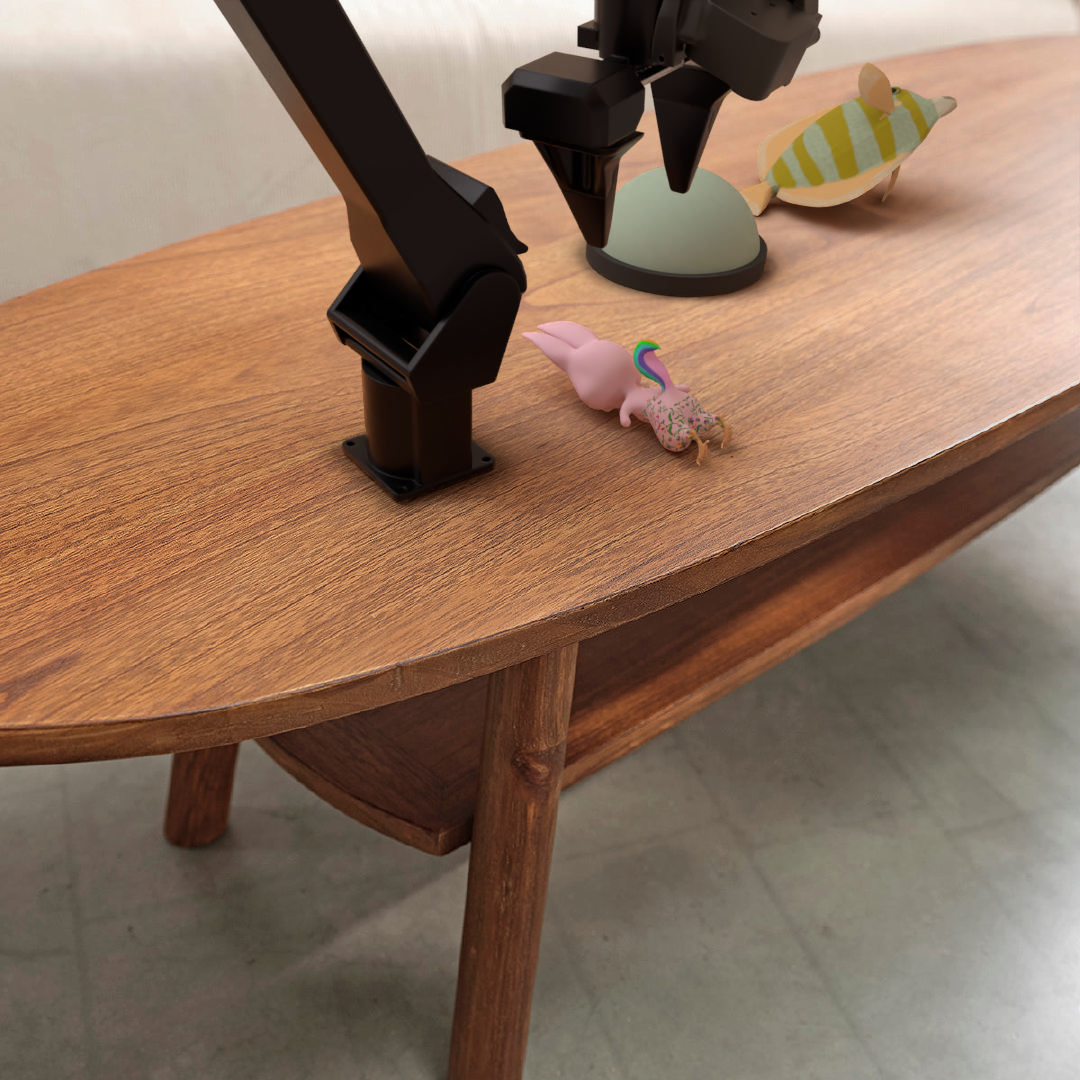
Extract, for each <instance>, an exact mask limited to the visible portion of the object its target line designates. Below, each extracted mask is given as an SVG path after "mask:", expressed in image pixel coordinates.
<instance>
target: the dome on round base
mask: <svg viewBox="0 0 1080 1080" xmlns="http://www.w3.org/2000/svg"><path fill="white" fill-rule="evenodd" d="M585 244H586V245H585V258H586V260H587V262H588V265H589V266H590V267H591V268H592V269H593V270H594V271H596V272H597V273H598V274H599V275H601V276H603V278H605V279H608V280H610V281H612V282H614V283H617V284H619V285H621V286H625V287H628V288H630V289H634V290H638V291H642V292H646V293H652V294H657V295H664V296H675V297H709V296H718V295H723V294H730V293H733V292H738V291H740V290H743V289H745V288H747V287H749V286H751V285H754V283H756V282H758V280H760V278H761V277H762V276H763V274H764V272H765V267H766V261H767V255H768V245H767V242H766V240H765V239H764V238H763V237H762V236H761V235H760V234H759V229H758V224H757V221H756V219H755V215H753V213H752V211H751V209H750V207H749V206H748V204H747V202H746V201H745V199H744V198H743V196H742V195H741V194H740V193H739V190H738V189H737V188H736V187H735V186H734V185H733V184H731V183H730V182H729V181H727V180H726V179H725V178H724V177H722V176H720V175H719V174H716V173H714V172H713V171H711V170H708V169H705V168H702V167H699V166H698V168H697V170H696V173H695V176H694V178H693V181H692V184H691V187H690V189H689V191H688V192H686V193H685V194H681V193H677V192H673V191H671V189H670V187H669V183H668V179H667V174H666V170H665V166H664V165H663V166H659V167H656V168H653V169H649V170H647V171H644V172H643V173H640V174H638V175H636V176H635V177H633V178H632V179H630V180H628V181H627V182H626V183H624V185H623V186H622V187H620V188H619V189H617V190H616V193H615V201H614V209H613V216H612V223H611V229H610V233H609V238H608V243H607V246H606V247H604V248H603V249H599V248H596V247H592V246H589V245H588V244H587V243H586V242H585Z"/></svg>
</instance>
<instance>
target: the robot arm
mask: <svg viewBox="0 0 1080 1080" xmlns="http://www.w3.org/2000/svg"><path fill="white" fill-rule="evenodd" d="M212 1H213V3H214V4H215V5H216V7H217V8H218V10H219V11H220V13H221V15H222V16H223V17H224V19H225V20H226V22H227V24H228V25H229V27H230V28H231V30H232V31H233V33H234V34H235V36H236V37H237V39H238V41H240V43H241V45H242V46H243V47H244V50H245V51H246V53H247V54H248V55H249V57H250V58H251V60H252V61H253V63H254V64H255V66H256V67H257V69H258V71H259V72H260V74H261V75H262V77H263V79H265V81H266V82H267V84H268V85H269V87H270V88H271V90H272V92H273V93H274V94H275V96H276V98H277V99H278V101H279V102H280V104H281V105H282V106H283V108H284V109H285V111H286V112H287V114H288V116H289V117H290V118H291V120H292V122H293V124H294V125H295V126H296V127H297V129H298V131H299V132H300V134H301V135H302V137H303V138H304V140H305V141H306V143H307V144H308V146H309V147H310V149H311V150H312V152H313V154H314V155H315V156H316V158H317V159H318V161H319V162H320V164H321V165H322V167H323V168H324V170H325V172H327V174H328V176H329V177H330V179H331V181H332V182H333V183H334V185H335V187H336V188H337V190H338V191H339V192H340V194H341V197H342V198H343V201H344V203H345V206H346V215H347V223H348V233H349V239H350V242H351V245H352V247H353V249H354V253H355V254H356V256H357V259H358V262H359V263H360V264H359V265H358V266H357V267H356V270H355V271H354V272H353V273H352V275H351V276H350V278H349V279H348V280H347V282H346V283H345V284H344V286H343V288H342V289H341V290H340V292H339V293H338V294H337V295H336V297H335V299H334V300H333V302H332V303H331V304H330V306H329V307H328V308H327V311H326V314H325V315H326V318H327V320H328V322H329V325H330V327H331V329H332V331H333V333H334V335H335V337H336V339H337V341H338V342H339V343H340V344H342V346H347V347H348V348H350V349H351V350H352V351H353V352H355V353H356V354H357V355H358V356H360V362H361V363H360V365H361V370H360V371H361V385H362V399H363V400H362V402H363V416H364V428H365V429H364V430H365V433H363V434H360V435H357V436H354V437H351V438H348V439H345V440H343V442H341V448H342V452H343V454H344V455H346V457H347V458H349V459H350V460H351V461H352V462H353V463H354V464H355V465H356V466H357V467H359V468H360V469H361V471H363V472H364V473H365V474H366V475H367V476H368V477H369V478H370V479H371V480H372V481H374V483H376V484H377V485H378V486H379V487H380V488H381V489H382V490H383V491H384V492H385V493H387V495H388V496H389V497H391V499H393V500H394V501H397V502H405V501H408V500H411V499H414V498H417V497H419V496H422V495H425V494H427V493H431V492H433V491H436V490H439V489H441V488H444V487H447V486H450V485H453V484H455V483H457V482H460V481H464V480H466V479H469V478H471V477H475V476H477V475H480V474H482V473H485V472H488V471H490V470H493V469H494V468H495V467H496V458H495V456H493V455H492V454H491V453H490V452H488V451H487V449H485V448H483V446H481V445H480V444H479V443H477V442H476V441H475V440H473V390H476V389H479V388H482V387H484V386H488V385H491V384H494V383H496V381H497V378H498V375H499V372H500V369H501V366H502V363H503V360H504V356H505V354H506V351H507V347H508V344H509V340H510V338H511V335H512V332H513V328H514V326H515V322H516V319H517V315H518V312H519V310H520V305H521V302H522V299H523V295H524V294H525V293H526V292H527V290H528V275H527V273H526V270H525V267H524V263H523V261H522V260H521V258H520V257H519V255H522V254H526V253H528V251H529V246H528V245H527V244H526V243H524V242H522V241H521V240H520V239H519V238H518V237H517V236H516V234H515V233H514V232H513V230H512V229H511V226H510V224H509V221H508V218H507V215H506V211H505V208H504V205H503V202H502V201H501V199H500V197H499V195H498V193H497V192H496V190H495V188H493V186H490V185H489V184H487V183H485V182H482V181H481V180H479V179H477V178H475V177H473V176H471V175H469V174H467V173H465V172H463V171H462V170H460V169H457V168H456V167H454V166H452V165H450V164H448V163H446V162H444V161H443V160H440V159H438V158H436V157H434V156H432V155H431V154H427V153H426V152H425V150H424V148H423V146H422V144H421V142H420V141H419V139H418V138H417V135H416V134H415V131H414V130H413V128H412V127H411V125H410V123H409V121H408V119H407V118H406V117H405V115H404V113H403V111H402V109H401V107H400V106H399V103H398V102H397V100H396V99H395V97H394V95H393V93H392V92H391V90H390V88H389V86H388V85H387V83H386V81H385V79H384V77H383V76H382V74H381V72H380V70H379V68H378V67H377V65H376V63H375V62H374V59H373V58H372V56H371V54H370V53H369V51H368V49H367V47H366V46H365V44H364V42H363V40H362V38H361V37H360V35H359V33H358V32H357V30H356V27H355V26H354V24H353V23H352V21H351V19H350V17H349V15H348V14H347V12H346V10H345V9H344V7H343V5H342V3H341V1H340V0H212ZM819 2H820V1H819V0H593V19H591V20H588V21H586V22H584V23H581V24H579V25H577V26H576V27H577V31H576V34H577V35H576V37H577V39H576V43H577V44H576V46H577V48H583V49H587V50H594V51H598V58H599V59H597V58H593V57H588V56H583V55H582V56H581V55H578V54H577V55H576V54H572V53H565V52H561V51H556V50H555V51H552V52H551V53H550V52H549V53H548V54H546V55H544V56H541V57H539V58H537V59H534V60H532V61H530V62H527V63H525V64H523V65H521V66H519V67H516V68H515V69H514V70H513V71H512V72H511V74H509V75H508V77H507V78H506V79H505V80H504V81H503V82H502V83H501V85H500V87H501V91H500V92H501V117H502V125H503V127H504V129H507V130H511V131H516V132H518V135H519V138H521V139H523V140H527V141H531V142H532V143H533V145H534V146H535V148H536V149H537V151H538V153H539V155H540V156H541V158H542V160H543V161H544V162H545V164H546V166H547V168H548V169H549V172H550V173H551V175H552V177H553V178H554V180H555V182H556V184H557V186H558V188H559V189H560V192H561V194H562V195H563V198H564V200H565V203H566V204H567V206H568V208H569V210H570V212H571V214H572V216H573V218H574V221H575V222H576V224H577V226H578V228H579V230H580V233H581V235H582V237H583V239H584V241H585V244H586V243H587V244H588V245H589V246H592V247H596V248H599V249H603V248H604V247H606V246H607V243H608V238H609V233H610V229H611V223H612V216H613V209H614V201H615V194H616V192H617V185H618V179H619V169H620V162H621V160H622V157H623V156H625V155H626V154H627V153H628V152H629V151H630V150H631V149H632V148H633V147H634V146H635V145H636V144H637V143H638V142H640V141H641V139H643V138H644V136H645V132H644V131H640V130H637V129H638V127H639V124H640V122H641V119H642V118H643V115H644V112H645V106H646V105H645V104H646V86H647V85H649V86H650V90H651V97H652V102H653V107H654V114H655V119H656V126H657V130H658V131H657V133H658V137H659V142H660V149H661V154H662V161H663V166H665V170H666V174H667V179H668V183H669V187H670V189H671V191H673V192H677V193H681V194H685V193H686V192H688V191H689V189H690V187H691V184H692V181H693V178H694V176H695V173H696V170H697V168H698V167H699V165H700V162H701V159H702V157H703V154H704V152H705V149H706V146H707V143H708V140H709V138H710V135H711V132H712V130H713V127H714V125H715V121H716V119H717V117H718V115H719V113H720V110H721V108H722V105H723V102H724V101H725V99H726V98H727V96H729V95H730V94H731V93H732V92H733V93H734V94H736V95H737V96H739V97H740V98H743V99H745V100H747V101H752V102H762V101H764V100H766V99H768V98H769V97H770V95H771V94H772V93H773V92H775V91H776V90H778V89H780V88H781V87H784V88H785V87H787V86H789V85H790V84H791V82H792V81H793V78H794V76H795V74H796V72H797V70H798V69H799V66H800V63H801V62H802V60H803V57H804V55H805V53H806V51H807V49H809V48H810V47H812V46H814V45H816V44H817V43H818V42H819V41H820V39H821V35H822V34H821V29H820V28H819V27H820V23H821V21H822V19H823V14H821V13H820V12H819V8H820V7H819V6H820V5H819Z"/></svg>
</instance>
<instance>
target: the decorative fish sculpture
mask: <svg viewBox="0 0 1080 1080" xmlns="http://www.w3.org/2000/svg"><path fill="white" fill-rule="evenodd" d="M857 87H858V92H859V96H857V97H854V98H852V99H849V100H846V101H842V102H838V103H835V104H832V105H830V106H828V107H825V108H822V109H819V110H817V111H815V112H812V113H810V114H807V115H805V116H803V117H801V118H799V119H797V120H795V121H792V122H790V123H788V124H786V125H784V126H783V127H781V128H779V129H777V130H775V131H774V132H771V133H770V134H769V135H767V136H766V137H765V138H763V140H761V142H760V143H759V146H758V147H757V150H756V156H755V157H756V169H757V173H758V178H759V181H760V183H756V184H753V185H751V186H748V187H745V188H742V189H741V190H738V192H739V193H740V194H741V195H742V196H743V198H744V199H745V201H746V202H747V204H748V206H749V207H750V209H751V211H752V213H753V215H754V216H755V217H757V216H760V215H761V214H762V213H763V212H764V210H765V209H766V208H767V206H768V205H769V203H770V200H771V199H773V198H778V199H779V200H781V201H783V202H787V203H788V204H789V203H790V204H793V205H799V206H804V207H811V208H828V207H833V206H837V205H840V204H845V203H847V202H850V201H852V200H854V199H856V198H858V197H861V196H862V195H864V194H865V193H867V192H868V191H870V190H871V189H873V188H874V187H876V186H877V185H878V184H879V183H881V182H882V181H883V180H885V179H886V178H887V177H888V176H889V175H891V176H890V180H889V182H888V185H887V187H886V190H885V192H884V194H883V197H882V199H881V202H882V203H884V201H886V199H887V198H888V196H889V195H890V194H891V192H892V190H893V188H894V186H895V184H896V182H897V179H898V178H899V173H900V171H901V165H902V164H903V163H904V162H905V161H906V160H907V159H908V158H909V157H910V156H912V154H913V153H914V152H915V151H916V150H917V148H918V147H919V146H920V145H921V144H922V143H923V142H924V141H925V140H926V138H927V137H928V135H929V134H930V133H931V130H932V129H933V128H934V126H935V125H936V123H937V122H938V120H939V119H941V118H943V117H946V116H948V115H949V114H951V113H952V112H953V111H955V110H956V109H957V108H958V101H957V99H956V98H955V97H953V96H950V95H940V96H936V97H931V98H925V97H923V96H921V95H920V94H918V93H917V92H916V93H915V92H914V91H912V90H909V89H906V88H905V89H904V88H901V87H900V86H891V82H890V79H889V77H887V75H886V74H885V72H883V71H882V69H880V68H879V67H877V66H876V64H873V63H871V62H866V63H865V64H863V65H862V66H861V68H860V71H859V74H858V81H857Z"/></svg>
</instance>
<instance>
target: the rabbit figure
mask: <svg viewBox="0 0 1080 1080" xmlns="http://www.w3.org/2000/svg"><path fill="white" fill-rule="evenodd" d="M536 328H537V329H538V331H522V333H521V336H522V338H524V339H527V340H529V341H530V342H531V343H532V344H533V345H534V346H536V347H537V348H538V349H539V350H540V352H541V353H543V355H544V356H545V357H546V358H547V359H548V360H550V362H551V363H552V364H554V365H555V366H556V367H557V368H559V369H560V370H561V371H563V372H564V373H565V374H566V375H567V376H568V378H569V380H570V382H571V384H572V386H573V388H574V390H575V392H576V393H577V395H578V396H579V398H580V400H581V401H582V402H583V403H584V404H585V405H586V406H588V407H589V408H591V409H593V410H598V411H599V410H602V411H604V412H606V413H608V412H611V411H613V410H615V409H618V410H619V421H620V424H621V425H620V426H622V427H624V428H628V427H630V426H631V423H632V421H631V419H630V415H631V414H632V415H633V416H635V417H636V418H637V419H638V420H640V421H642V422H644V423H649V424H650V425H651V426H652V429H653V431H654V433H655V435H656V437H657V440H658V441H659V443H660V444H661V445H662V446H663V448H665V449H667V450H668V451H671V452H676V453H677V452H682V451H684V450H686V449H687V448H688V447H689V446H690V445H691V442H692V441H695V442H696V443H697V446H698V455H697V458H696V460H695V462H696V465H698V467H701V460H703V459H704V458H707V459H709V456H708V455H707V451H708V445H707V444H709V442H710V440H705V442H703V441H702V439H704V438H705V437H706V436H707V435H708V434H709V432H710V431H711V429H712V428H714V427H715V426H719V427H720V428H721V429H722V431H723V440H722V441H721V444H720V448H721V449H724V450H727V446H726V444H728V443H729V444H733V442H732V436H733V430H732V428H734V427H735V424H731V425H730V426H729V427H728V425H727V424H726V423H725V422H724V419H723V416H722V415H721V414H719V413H717V414H713V413H710V412H709V411H707V410H706V409H705V408H704V407H703V405H702V404H701V403H700V401H699V400H698V399H697V398H696V397H695V396H693V395H692V394H690V391H691V387H690V386H689V385H688V384H674V383H673V381H672V378H671V375H670V373H669V371H668V368H667V367H666V366H665V365H664V363H663V362H662V361H661V360H660V359H659V357H658V356H657V354H656V352H655V351H656V350H662V348H661V347H660V345H659V344H658V343H657V342H656V341H654V340H652V339H650V338H642V339H641V340H640V341H638V342H637V344H636V345H635V347H634V351H633V355H632V354H631V353H630V352H629V351H628V350H626V349H625V348H624V347H623V346H621V345H620V344H618V343H616V342H614V341H612V340H608V339H600V337H599V335H598V334H596V332H594V331H592V330H591V329H589V328H588V327H586V326H584V325H582V324H580V323H578V322H574V321H569V320H556V321H549V322H545V323H541V324H539V325H537V327H536ZM539 331H541V332H539ZM642 376H644V377H645V378H647V379H649V380H651V381H653V382H656V383H657V384H658V385H656V386H650V387H642V386H640V384H641V382H642Z"/></svg>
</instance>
